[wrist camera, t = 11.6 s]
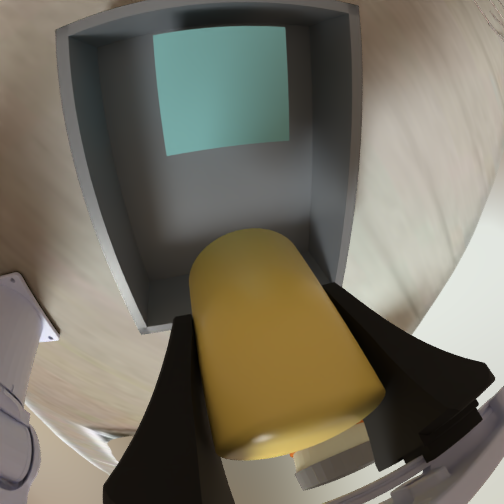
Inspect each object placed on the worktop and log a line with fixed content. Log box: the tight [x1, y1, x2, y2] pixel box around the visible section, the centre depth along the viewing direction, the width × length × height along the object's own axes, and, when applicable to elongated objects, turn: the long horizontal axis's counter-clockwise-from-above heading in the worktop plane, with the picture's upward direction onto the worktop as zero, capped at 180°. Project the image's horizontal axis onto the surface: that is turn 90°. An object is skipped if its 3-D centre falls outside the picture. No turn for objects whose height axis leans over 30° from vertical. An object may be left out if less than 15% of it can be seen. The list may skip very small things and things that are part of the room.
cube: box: [153, 26, 289, 156], centre depth 11 cm, size 5×5×5 cm
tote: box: [56, 0, 362, 335], centre depth 14 cm, size 17×13×5 cm
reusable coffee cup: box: [290, 419, 375, 491], centre depth 31 cm, size 13×12×15 cm
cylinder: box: [189, 228, 386, 460], centre depth 9 cm, size 5×5×7 cm
